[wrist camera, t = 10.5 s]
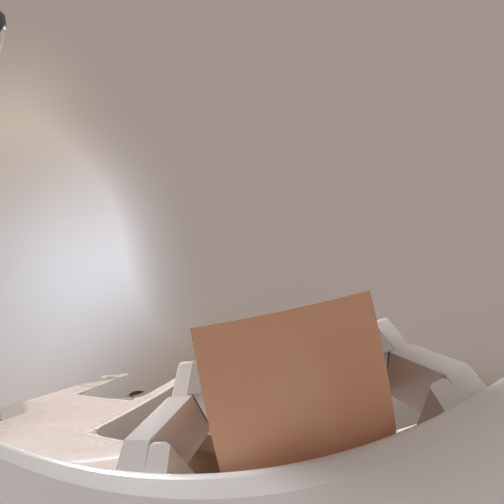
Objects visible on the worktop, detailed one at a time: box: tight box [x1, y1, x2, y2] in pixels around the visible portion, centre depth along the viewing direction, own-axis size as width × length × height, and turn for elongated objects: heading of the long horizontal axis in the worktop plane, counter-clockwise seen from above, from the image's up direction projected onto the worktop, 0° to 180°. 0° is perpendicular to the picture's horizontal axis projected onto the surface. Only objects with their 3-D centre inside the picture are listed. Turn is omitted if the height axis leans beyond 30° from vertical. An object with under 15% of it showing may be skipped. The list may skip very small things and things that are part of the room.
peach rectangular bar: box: [191, 291, 396, 473], centre depth 17 cm, size 4×24×4 cm, turn 178°
